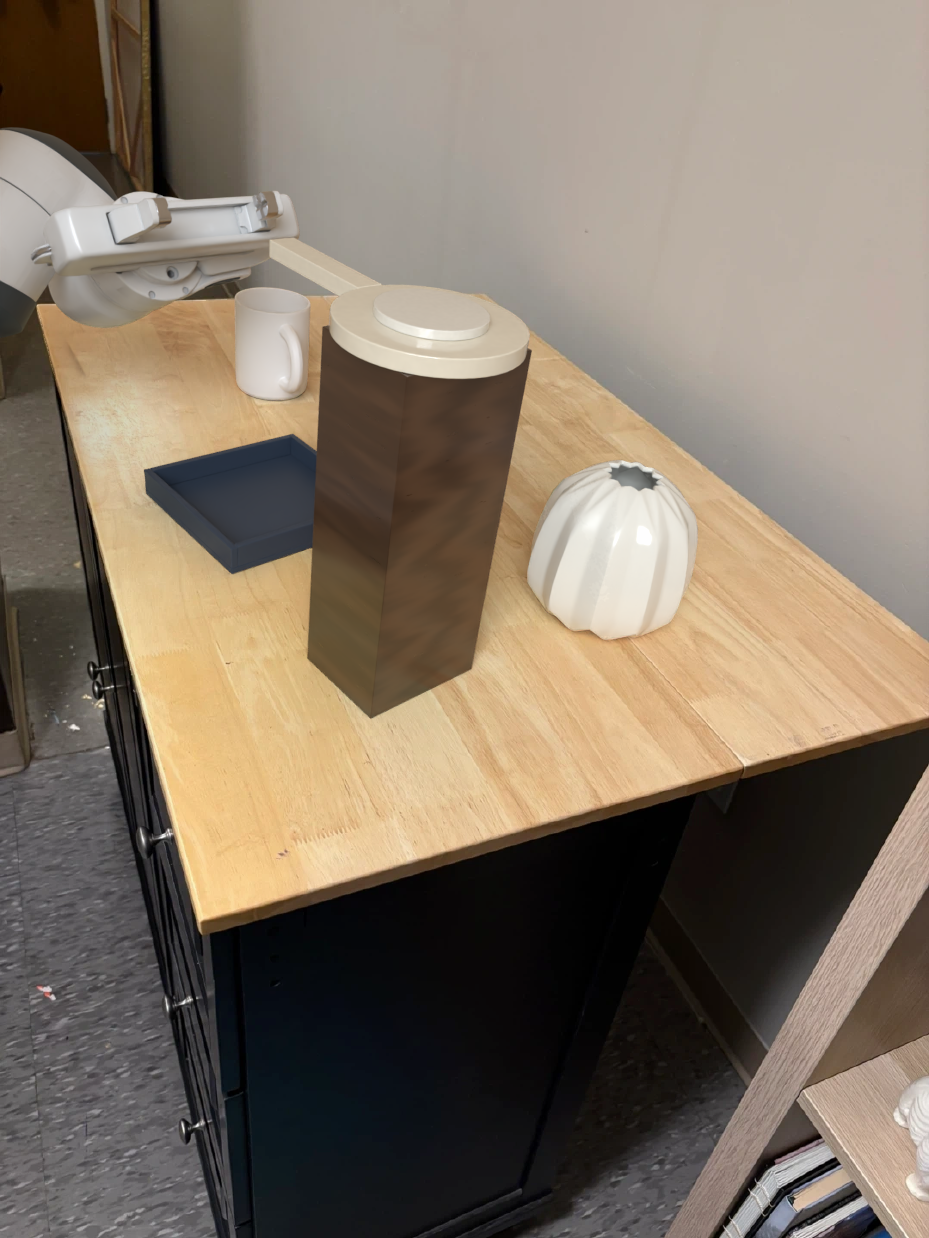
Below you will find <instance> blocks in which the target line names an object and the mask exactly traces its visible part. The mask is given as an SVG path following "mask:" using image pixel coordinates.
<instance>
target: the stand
mask: <svg viewBox="0 0 929 1238" xmlns="http://www.w3.org/2000/svg"><path fill="white" fill-rule="evenodd" d="M321 328H322V329H321V350H320V351H321V352H320V370H319V371H320V373H319V392H318V393H319V395H318V416H317V434H316V435H317V436H316V437H317V438H316V451H317V457H316V479H315V500H314V522H313V544H312V548H311V567H310V589H309V608H308V609H309V612H308V631H307V632H308V636H307V655H306V658H307V660H308V661H309V662H310V663H311V664H312V665H313V666H315V667H316V668H317V669H318V671H320V672H321V673H322V674H323V675H324V676H325V677H326V678H327V679H328V680H329V681H330V682H331V683H333V685H335V686H336V687H337V689H339V690H340V691H341V692H342V693H343V694H344V695H345V696H346V697H347V698H348V699H349V700H350V701H351V702H353V703H354V705H355V706H356V707H358V708H359V710H361V711H362V713H364V714H365V715H366V716H367V717H368V718H369V719H374V718H376V717H377V716H379V715H381V714H384V713H385V712H388V711H389V710H392V709H394V708H395V707H397V706H400V705H402V704H403V703H406V702H407V701H410V700H412V699H414V698H416V697H418V696H420V695H422V694H424V693H426V692H428V691H430V690H432V689H434V688H436V687H438V686H440V685H442V684H444V683H446V682H449V681H450V680H452V679H454V678H457V677H459V676H460V675H463V674H464V673H466V672H469V671H471V670H472V668H473V663H474V659H475V653H476V648H477V642H478V638H479V631H480V627H481V621H482V615H483V610H484V605H485V600H486V594H487V589H488V584H489V579H490V574H491V568H492V563H493V558H494V552H495V548H496V542H497V537H498V531H499V527H500V522H501V516H502V510H503V505H504V500H505V494H506V489H507V484H508V479H509V475H510V469H511V463H512V459H513V454H514V453H513V452H514V447H515V442H516V438H517V431H518V426H519V420H520V417H521V411H522V405H523V401H524V394H525V389H526V384H527V378H528V374H529V368H530V362H531V358H532V352H533V350H532V349H531V348H529V347H528V350H527V355H526V358H525V360H524V361H523V362H522V363H521V364H520V365H519V366H518V367H516V368H515V369H513V370H511V371H508V372H506V373H503V374H499V375H495V376H490V377H483V378H473V379H446V378H433V377H425V376H418V375H413V374H407V373H403V372H399V371H394V370H391V369H387V368H384V367H380V366H378V365H375V364H372V363H369V362H367V361H365V360H363V359H360V358H358V357H356V356H354V355H353V354H351V353H349V352H348V351H346V350H345V349H343V348H342V347H341V346H340V345H338V344H337V343H336V342H335V340H334V339H333V338H332V336H331V334H330V331H329V324H328V325H322V327H321Z"/></svg>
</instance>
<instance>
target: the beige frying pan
mask: <svg viewBox="0 0 929 1238" xmlns="http://www.w3.org/2000/svg"><path fill="white" fill-rule="evenodd" d="M269 257H270V259H271V260H274V261H275V262H277V263H279V264H281V265H282V266H284V267H286V268H287V269H289V270H291V271H293V272H295V273H297V274H299V275H300V276H302V277H304V278H305V279H307V280H309V281H310V282H312V283H314V284H315V285H318V286H320V287H321V288H323V289H325V290H326V291H329V292H330V293H332V294H334V295H335V296H337V297H336V298H334V300H333V301H332V302H331V304H330V307H329V315H328V317H329V318H328V320H329V321H328V325H329V331H330V334H331V336H332V338H333V339H334V340H335V342H336V343H337V344H338V345H340V346H341V347H342V348H343V349H345V350H346V351H348V352H349V353H351V354H353V355H354V356H356V357H358V358H360V359H363V360H365V361H367V362H369V363H372V364H375V365H378V366H380V367H384V368H387V369H391V370H394V371H399V372H403V373H407V374H413V375H418V376H425V377H433V378H446V379H473V378H483V377H490V376H495V375H499V374H503V373H506V372H508V371H511V370H513V369H515V368H516V367H518V366H519V365H520V364H521V363H522V362H523V361H524V360H525V358H526V355H527V350H528V348H529V343H530V337H531V334H530V329H529V327H528V325H527V324H526V323H525V322H524V321H523V320H522V319H521V318H520V317H519V316H518V315H516V314H515V313H514V312H512V311H510V310H508V309H507V308H505V307H503V306H500V305H498V304H496V303H494V302H492V301H489V300H487V299H484V298H482V297H478V296H475V295H472V294H468V293H465V292H460V291H456V290H452V289H445V288H442V287H441V288H439V287H433V286H425V285H415V284H382V283H381V282H378V281H377V280H374V279H373V278H371V277H369V276H367V275H366V274H363V273H362V272H360V271H358V270H356V269H354V268H353V267H350V266H348V265H347V264H345V263H343V262H340V261H338V260H337V259H335V258H333V257H332V256H330V255H327V254H326V253H324V252H322V251H320V250H318V249H317V248H314V247H312V246H310V245H309V244H307V243H305V242H303V241H301V240H299V239H298V240H297V239H295V238H283V239H272V240H270V247H269Z"/></svg>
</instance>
